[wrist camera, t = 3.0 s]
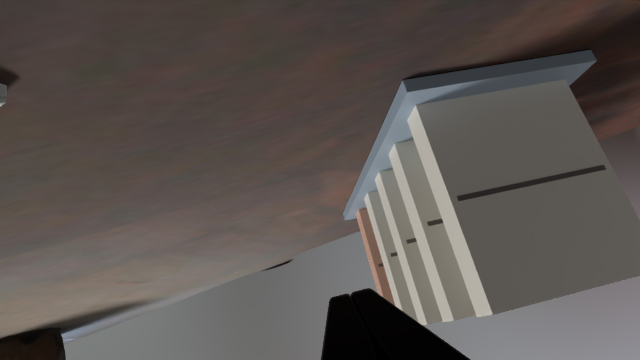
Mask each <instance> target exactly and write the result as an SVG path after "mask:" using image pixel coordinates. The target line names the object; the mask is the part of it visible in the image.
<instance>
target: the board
mask: <svg viewBox="0 0 640 360" xmlns="http://www.w3.org/2000/svg"><path fill="white" fill-rule="evenodd" d="M596 61H597V60H596V58H595V56H594V54H593V53H592V51H591V50H586V51H580V52H574V53H568V54H561V55H555V56H549V57H543V58H537V59H531V60H524V61H518V62H512V63H506V64H500V65H493V66H487V67H481V68H475V69H469V70H463V71H456V72H450V73H444V74H438V75H432V76H425V77H419V78H413V79H407V80H402V83H401V85H400V87H399V89H398V92H397V94H396V96H395V98H394V101H393V103H392V105H391V107H390V109H389V112H388V114H387V116H386V118H385V121H384V123H383V125H382V127H381V130H380V132H379V134H378V136H377V139H376V141H375V143H374V145H373V147H372V150H371V152H370V154H369V156H368V159H367V161H366V163H365V165H364V168H363V170H362V172H361V174H360V177H359V179H358V181H357V183H356V185H355V188H354V190H353V192H352V194H351V197H350V199H349V201H348V203H347V206H346V208H345V210H344V212H343V216H344V220H349V219H354V218H357V217H356V213H357V211H358V209H362V208H367V207H366V204H365V200H364V198H365V196H366V195H367V193H368V192H373V191H378V189H377V186H376V182H375V178H376V176H377V175H378V173H379V171H384V170H389V169H393V167H392V164H391V161H390V158H389V155H388V154H389V153H390V151H391V149H392V147H393V145H394V144H395V143H400V142H406V141H411V140H414V139H413V136H412V133H411V130H410V127H409V125H408V122H407V120H408V118H409V116H410V114H411V112H412V111H413V109H414V107H415V105H419V104H425V103H431V102H436V101H442V100H448V99H454V98H460V97H465V96H471V95H477V94H483V93H489V92H494V91H500V90H506V89H512V88H517V87H523V86H529V85H535V84H541V83H546V82H552V81H558V80H564V79H565V80H566V82H567V83H568V85H569V86H570V85H571V84H572V83H573V82H574V81H575V80H576V79H577V78H579V77H580V76H581V75H582V74H583V73H584V72H585V71H586V70H587V69H588V68H589V67H591V66H592V65H593V64H594V63H595V62H596Z"/></svg>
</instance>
